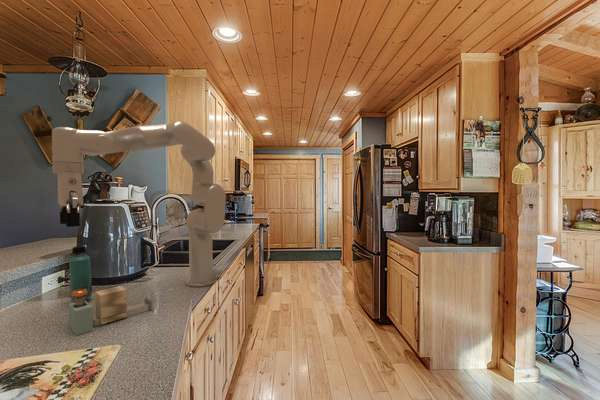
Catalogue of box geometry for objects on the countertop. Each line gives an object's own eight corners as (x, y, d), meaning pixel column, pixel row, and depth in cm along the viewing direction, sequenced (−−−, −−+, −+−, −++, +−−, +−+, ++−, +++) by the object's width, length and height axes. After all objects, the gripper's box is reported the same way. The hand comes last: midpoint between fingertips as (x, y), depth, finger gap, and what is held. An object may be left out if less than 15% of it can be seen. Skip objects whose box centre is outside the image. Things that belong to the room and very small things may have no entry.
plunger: (86, 308, 90) (85, 287, 90) (89, 311, 88) (88, 290, 87) (71, 312, 87) (70, 291, 87) (74, 315, 85) (73, 294, 85)
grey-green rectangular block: (85, 322, 92) (84, 299, 92) (93, 330, 87) (92, 306, 86) (69, 326, 89) (68, 303, 89) (76, 335, 84) (75, 311, 83)
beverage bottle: (81, 305, 105) (78, 248, 104) (65, 304, 106) (62, 247, 105) (97, 298, 111) (95, 244, 110) (82, 297, 112) (80, 244, 112)
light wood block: (121, 312, 98) (120, 285, 98) (126, 316, 95) (126, 289, 94) (96, 319, 93) (95, 291, 92) (101, 324, 89) (100, 295, 89)
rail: (147, 306, 104) (146, 297, 104) (152, 310, 101) (152, 300, 101) (91, 322, 92) (90, 312, 91) (95, 327, 89) (94, 316, 88)
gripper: (90, 168, 89) (91, 226, 89) (77, 170, 100) (78, 221, 101) (57, 167, 83) (59, 228, 84) (48, 169, 95) (49, 223, 96)
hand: (69, 224), depth 92 cm, fingers open, 9 cm apart
